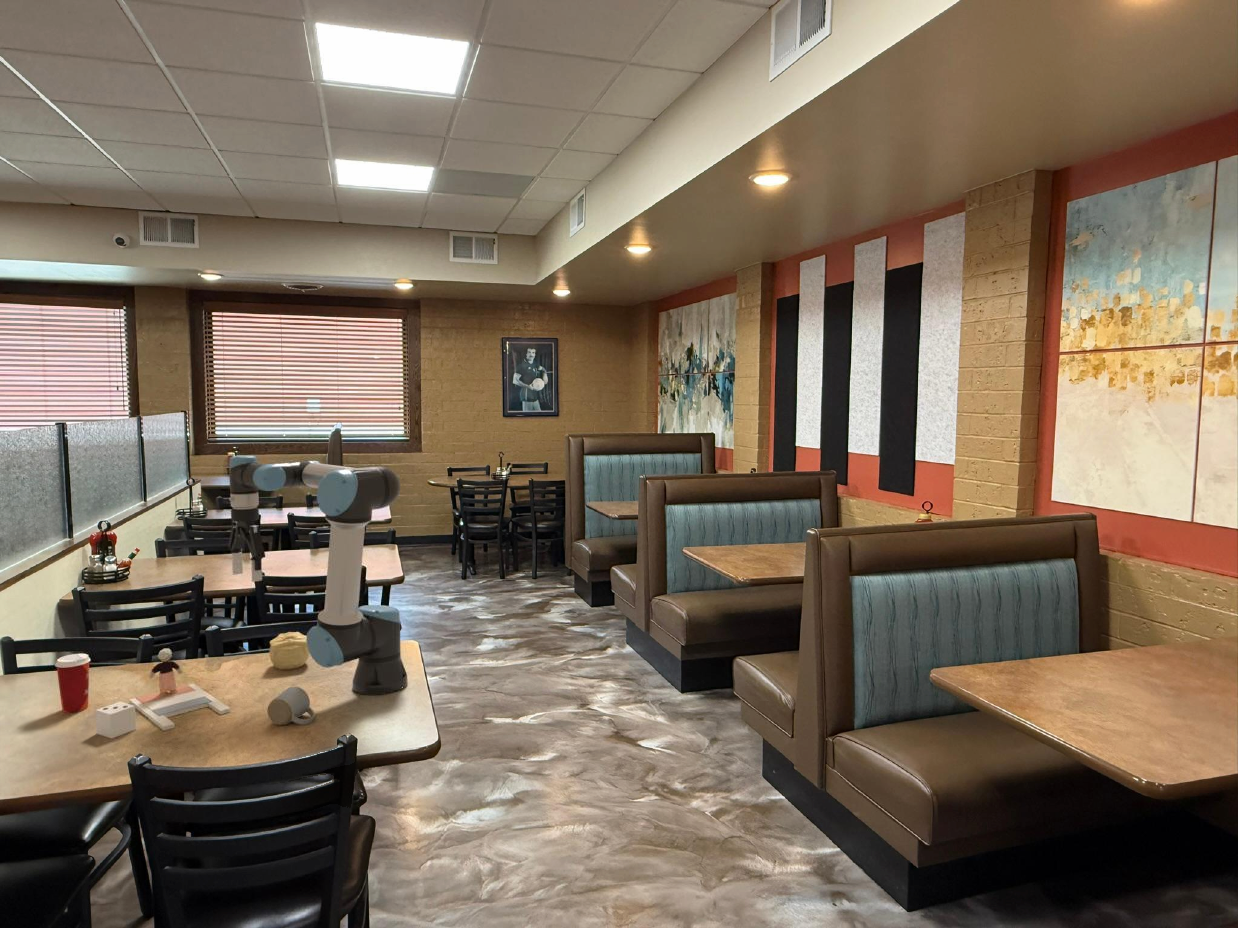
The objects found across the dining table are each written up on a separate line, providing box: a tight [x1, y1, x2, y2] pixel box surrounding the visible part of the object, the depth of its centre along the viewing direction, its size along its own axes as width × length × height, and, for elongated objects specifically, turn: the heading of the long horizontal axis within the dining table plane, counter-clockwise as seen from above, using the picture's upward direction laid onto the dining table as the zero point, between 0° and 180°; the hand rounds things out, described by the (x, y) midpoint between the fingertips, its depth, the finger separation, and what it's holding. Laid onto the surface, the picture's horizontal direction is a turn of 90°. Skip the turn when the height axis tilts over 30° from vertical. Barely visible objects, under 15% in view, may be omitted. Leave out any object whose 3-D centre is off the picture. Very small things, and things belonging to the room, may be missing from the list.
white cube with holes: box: [95, 701, 137, 739], centre depth 194 cm, size 6×6×6 cm
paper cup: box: [54, 653, 91, 714], centre depth 207 cm, size 8×8×14 cm
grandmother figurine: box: [149, 648, 183, 696], centre depth 215 cm, size 8×4×13 cm, turn 136°
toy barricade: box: [129, 683, 231, 731], centre depth 209 cm, size 26×16×1 cm, turn 48°
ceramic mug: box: [267, 686, 315, 726], centre depth 201 cm, size 11×8×8 cm
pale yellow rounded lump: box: [269, 631, 310, 670], centre depth 241 cm, size 11×12×11 cm
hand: (247, 577), depth 235 cm, fingers open, 13 cm apart
